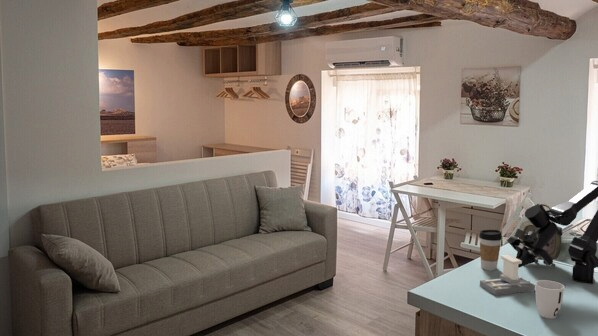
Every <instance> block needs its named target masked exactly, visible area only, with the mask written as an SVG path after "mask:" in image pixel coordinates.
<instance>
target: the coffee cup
mask: <svg viewBox="0 0 598 336" xmlns="http://www.w3.org/2000/svg"><path fill="white" fill-rule="evenodd" d="M502 236H503V235H502V231H501V230H499V229H482V230H480V231H479V236H478V238H479V241H480V242H479V250H480V251H479V252H480V255H479V256H480V268H481V269H483V270H487V271H495V270H497V269H498V264H499V263H498V262H499V256H500V250H501V241H502V240H503V237H502Z"/></svg>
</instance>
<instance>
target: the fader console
mask: <svg viewBox="0 0 598 336" xmlns="http://www.w3.org/2000/svg"><path fill="white" fill-rule="evenodd" d="M518 278H519V279H520V283H512V284H510V283H508V282H506V281H505V280H503V279H501V278H500V277H499V278H491V279H481V280H479V286H480V287H481V288H483V289H485V290H486V291H487V292H489V293H490V294H492V295H494V296H498V295H507V294H508V295H509V293H510V294H517V292H519V293H526V292H525V291H528V292H534V291H533V290H535V284H534V283H532V282H531V281H530V280H526V279H524V278H523V276H519V275H518ZM535 291H536V290H535Z"/></svg>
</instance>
